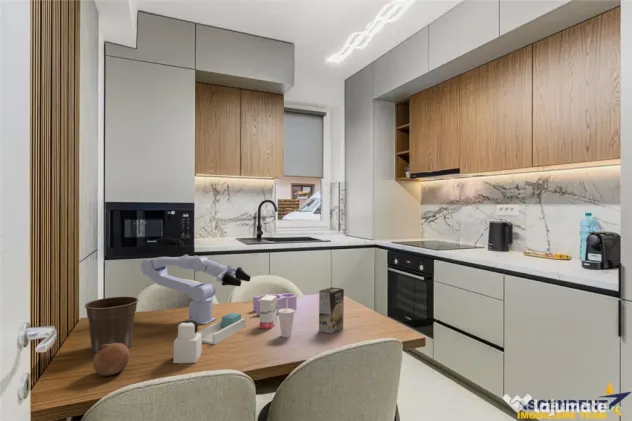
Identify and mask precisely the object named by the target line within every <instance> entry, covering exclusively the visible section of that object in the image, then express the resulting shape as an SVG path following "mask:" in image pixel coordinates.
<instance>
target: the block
mask: <svg viewBox="0 0 632 421" xmlns="http://www.w3.org/2000/svg"><path fill="white" fill-rule="evenodd" d="M240 319H242V313H234V312H229V313H227V314H225V315H223V316H221V320H222V328H225V327H227V326H229V325H231V324H233V323H235V322H237V321H238V320H240Z"/></svg>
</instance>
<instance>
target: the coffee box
mask: <svg viewBox="0 0 632 421" xmlns="http://www.w3.org/2000/svg"><path fill="white" fill-rule="evenodd" d="M344 289H345V288H340V287H328V288H325V289H321V290H319V291H318V293H319V294H318V331H319V332H323V333H327V334H331V335H332V334H334V333H336V332H338V331H340V330H342V329H344V315H345V314H344V311H345V310H344V309H345V308H344V295H345V294H344V292H345V291H344Z"/></svg>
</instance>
